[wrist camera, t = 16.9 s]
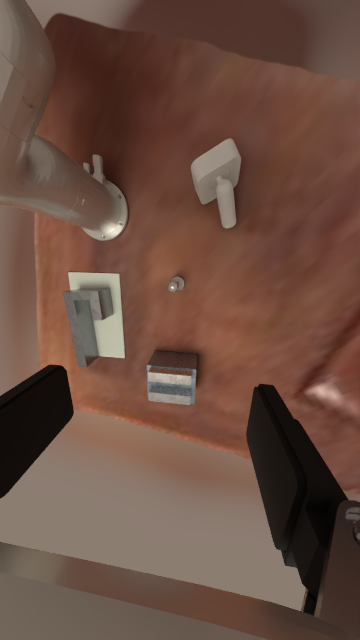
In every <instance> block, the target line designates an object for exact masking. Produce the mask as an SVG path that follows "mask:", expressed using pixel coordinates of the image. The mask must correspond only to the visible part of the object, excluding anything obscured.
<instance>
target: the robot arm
mask: <svg viewBox="0 0 360 640" xmlns="http://www.w3.org/2000/svg"><path fill="white" fill-rule="evenodd" d="M55 76H56V62H55V56H54V53H53V50H52V47H51V44H50V42H49V40H48V38H47V36H46V34H45V32H44V30H43V28H42V26H41V24H40V23H39V21H38V19H37V18H36V16H35V15H34V13H33V12H32V10H31V9H30V7H29V6H28V4H27V2H26V1H25V0H0V205H7V206H14V207H19V208H23V209H26V210H30V211H33V212H37V213H40V214H43V215H46V216H49V217H52V218H55V219H58V220H61V221H64V222H67V223H70V224H73V225H76V226H79V227H82V229H83V230H84V231H85V232H86V233H87V234H88V235H89V236H91V237H93V238H95V239H97V240H101V241H109V240H113V239H115V238H117V237H118V236H120V235H121V234H122V232H123V231H124V229H125V228H126V225H127V222H128V215H129V211H128V205H127V201H126V199H125V197H124V195H123V193H122V192H121V191H120V189H119V188H118V187H117V186H115V185H114V184H113V183H112V182H110V181H108V180H106V178H105V175H103V160H102V157H101V156H99V155H93V156H92V158H93V167H94V173H93V176H92V175H91V166H90V164H88V163H83V168H82V167H81V166H80V165H79V164H78V163H76V162H75V161H74V160H73V159H72V158H70V157H69V156H68V155H67V154H66V153H64V152H63V151H62V150H61V149H60V148H58V147H57V146H56V145H55V144H53V143H52V142H50V141H48V140H47V139H45V138H43V137H41V136H38V135H35V132H36V129H37V127H38V124H39V122H40V120H41V117H42V115H43V112H44V110H45V107H46V105H47V102H48V99H49V97H50V94H51V92H52V89H53V85H54V82H55ZM122 224H123V226H122ZM104 236H105V238H104ZM73 413H74V411H73V404H72V399H71V393H70V387H69V382H68V376H67V371H66V369H64V367H63V366H61V365H48V366H46V367H45V368H43V369H42V370H40V371H39V372H37V373H36V374H34V375H32V376H31V377H29V378H28V379H26V380H25V381H23V382H21V383H20V384H18V385H17V386H15V387H14V388H12V389H11V390H9V391H7V392H6V393H4V394H3V395H1V396H0V498H2V497H3V496H5V495H6V494H7V493H8V492H9V491H10V489H11V488H12V487H13V486H14V485H15V483H16V482H17V481H18V480H19V479H20V478H21V477H22V475H23V474H24V473H25V472H26V471H27V470H28V468H29V467H30V466H31V465H32V464H33V463H34V461H35V460H36V459H37V458H38V457H39V456H40V454H41V453H42V452H43V451H44V450H45V449H46V447H47V446H48V445H49V444H50V443H51V441H53V439H54V438H55V437H56V436H57V435H58V434H59V432H60V431H61V430H62V429H63V428H64V426H65V425H66V424H67V423H68V422H69V421H70V419H71V418H72V416H73ZM246 436H247V442H248V446H249V450H250V454H251V458H252V462H253V465H254V469H255V473H256V477H257V480H258V484H259V488H260V492H261V496H262V500H263V503H264V508H265V511H266V515H267V519H268V523H269V527H270V530H271V535H272V538H273V542H274V545H275V547H276V549H278V550H281V552H282V556H283V559H284V563H285V566H291V567H296V568H297V569H298V572H299V575H300V578H301V581H302V584H303V585H304V586H305V587H306V591H305V595H304V599H303V603H302V608H301V611H298V610H294V609H291V608H288V607H285V606H282V605H279V604H275V603H272V602H268V601H264V600H260V599H256V598H252V597H248V596H244V595H240V594H236V593H232V592H227V591H223V590H219V589H215V588H211V587H207V586H203V585H198V584H194V583H189V582H185V581H180V580H175V579H171V578H166V577H162V576H157V575H153V574H148V573H143V572H139V571H134V570H130V569H124V568H120V567H116V566H111V565H106V564H102V563H96V562H92V561H88V560H83V559H78V558H73V557H69V556H64V555H59V554H55V553H49V552H45V551H40V550H35V549H31V548H26V547H21V546H16V545H12V544H7V543H2V542H0V640H360V502H358V501H355V500H348V498H347V497H346V495H345V494H344V492H343V490H342V489H341V487H340V486H339V484H338V483H337V481H336V479H335V478H334V476H333V475H332V473H331V471H330V470H329V468H328V467H327V465H326V463H325V462H324V460H323V459H322V457H321V456H320V454H319V452H318V451H317V449H316V448H315V446H314V444H313V443H312V441H311V440H310V438H309V436H308V435H307V433H306V432H305V430H304V428H303V427H302V425H301V424H300V423H299V421H298V420H296V419H294V418H293V417H292V415H291V413H290V412H289V410H288V408H287V407H286V405H285V403H284V402H283V400H282V398H281V397H280V395H279V393H278V392H277V390H276V388H275V387H274V386H273V385H267V384H259V385H258V387H255V388H254V391H253V397H252V403H251V409H250V415H249V420H248V426H247V433H246Z"/></svg>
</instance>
